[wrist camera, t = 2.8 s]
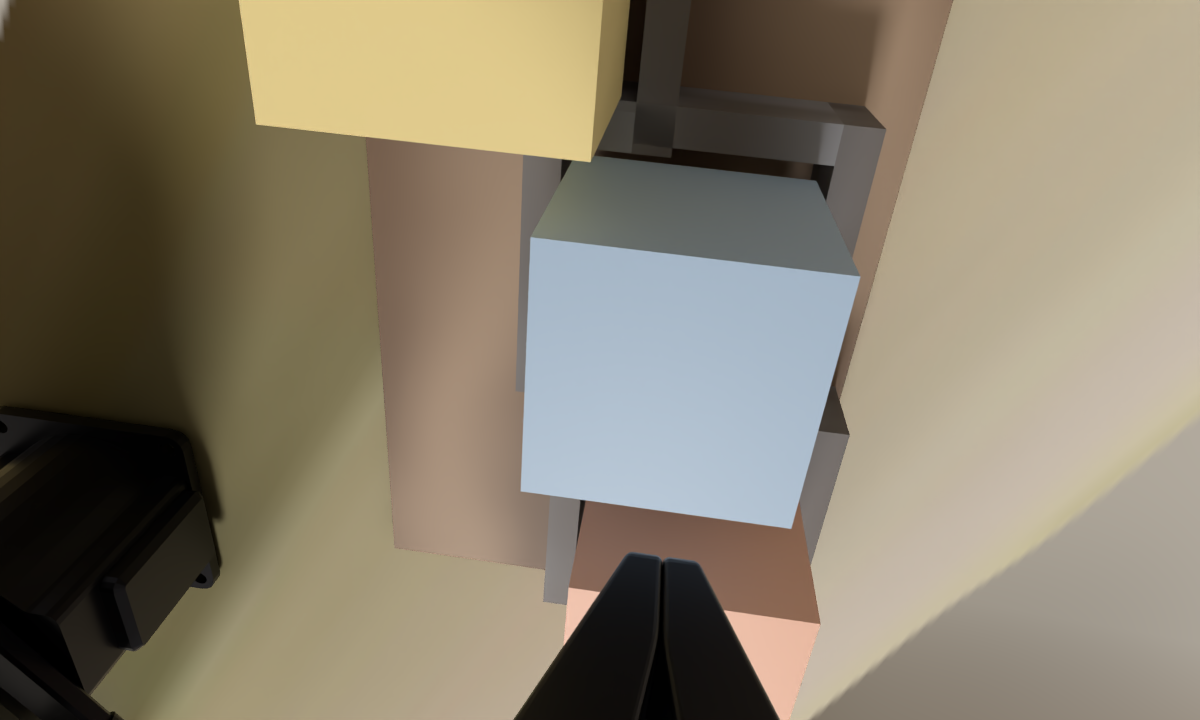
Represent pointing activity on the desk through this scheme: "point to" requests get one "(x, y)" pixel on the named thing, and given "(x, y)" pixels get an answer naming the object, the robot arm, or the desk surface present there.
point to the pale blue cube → (681, 338)
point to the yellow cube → (441, 70)
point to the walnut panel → (635, 132)
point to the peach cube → (715, 580)
